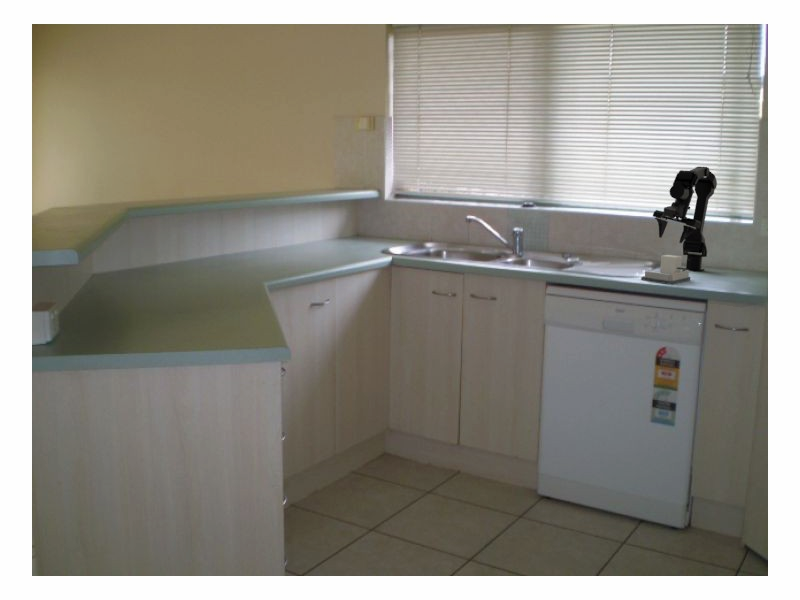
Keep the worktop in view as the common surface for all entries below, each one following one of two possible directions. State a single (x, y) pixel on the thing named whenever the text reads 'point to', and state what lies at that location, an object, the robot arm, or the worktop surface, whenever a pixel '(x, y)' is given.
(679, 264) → the gauge carriage
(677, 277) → the gauge base
